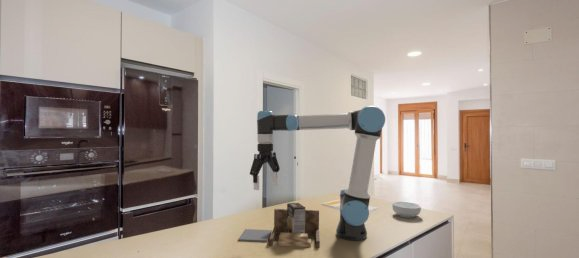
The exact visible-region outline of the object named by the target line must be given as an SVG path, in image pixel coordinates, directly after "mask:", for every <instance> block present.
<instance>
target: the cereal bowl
mask: <svg viewBox="0 0 579 258" xmlns="http://www.w3.org/2000/svg"><path fill="white" fill-rule="evenodd" d="M391 207H392V211H394V212H395V214H397V215H399V216H400V217H402V218H408V219H409V218H410V219H411V218H413V217H416V216H419V214H420V213H421V211H422V206H421V205H420V204H417V203H415V202H409V201H394V202H392V206H391Z"/></svg>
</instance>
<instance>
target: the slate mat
mask: <svg viewBox="0 0 579 258" xmlns="http://www.w3.org/2000/svg"><path fill="white" fill-rule="evenodd" d="M272 231H273V229H251V228H250V229H249V228H248V229H247V228H245V229H244V230H243V232H242V233H241V234H240V236H239V237H238V239H237V240H238V242H258V243H259V242H260V243H269V238H270V236H271V233H272Z"/></svg>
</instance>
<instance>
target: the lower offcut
mask: <svg viewBox="0 0 579 258" xmlns="http://www.w3.org/2000/svg"><path fill="white" fill-rule="evenodd" d="M277 245H278V246H280V247H281V246H285V247H286V246H288V247H306V248H307V247H309V248H310V247H312V239H311V238H308V242H292V241H279V239H278V241H277Z"/></svg>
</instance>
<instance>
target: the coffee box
mask: <svg viewBox="0 0 579 258" xmlns="http://www.w3.org/2000/svg"><path fill="white" fill-rule="evenodd" d="M286 209H287V233H304V234H305V210H306V206H304V205H302V204H301V203H299V202H289V203H287V204H286Z"/></svg>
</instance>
